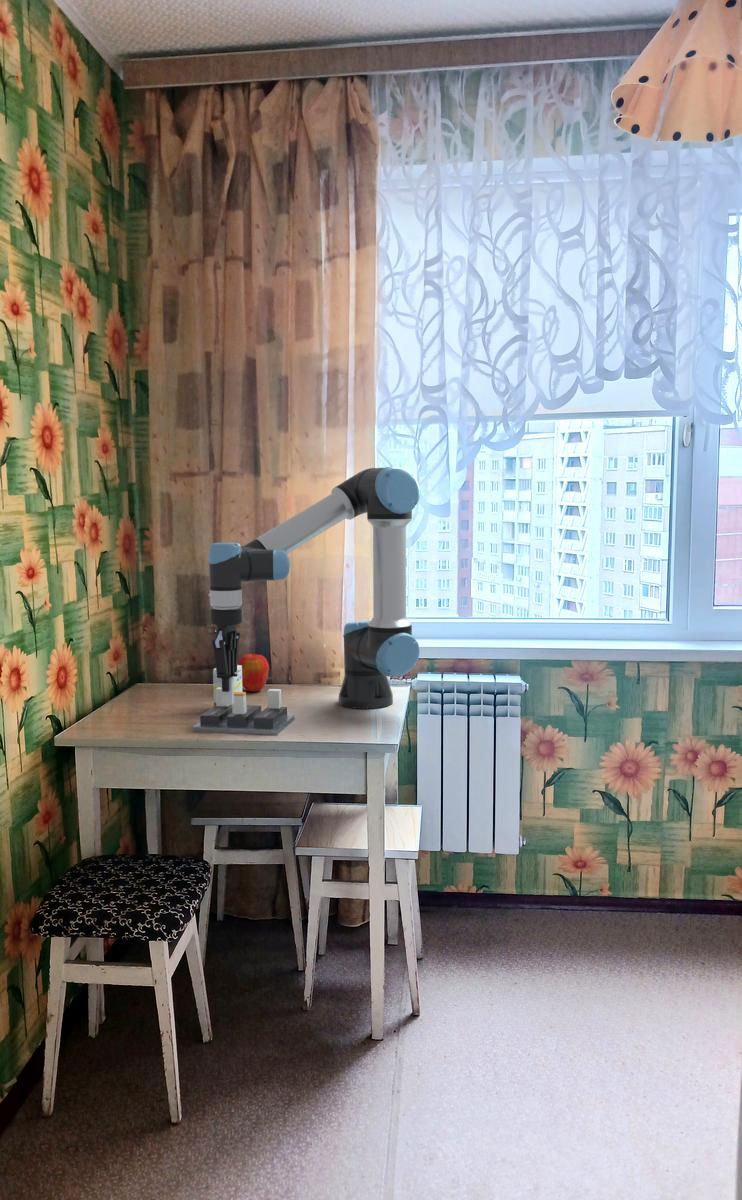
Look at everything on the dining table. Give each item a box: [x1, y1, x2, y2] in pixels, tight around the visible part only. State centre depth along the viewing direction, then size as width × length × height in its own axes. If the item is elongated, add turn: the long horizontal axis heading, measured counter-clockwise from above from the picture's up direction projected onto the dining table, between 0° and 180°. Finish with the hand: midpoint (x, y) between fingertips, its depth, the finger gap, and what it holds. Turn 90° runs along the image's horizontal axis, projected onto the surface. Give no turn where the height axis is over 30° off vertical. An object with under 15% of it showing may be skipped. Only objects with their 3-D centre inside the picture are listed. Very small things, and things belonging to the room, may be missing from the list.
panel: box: [191, 704, 296, 736], centre depth 232 cm, size 22×15×4 cm
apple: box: [237, 651, 270, 692], centre depth 270 cm, size 9×9×12 cm
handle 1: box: [216, 687, 229, 706], centre depth 237 cm, size 3×2×4 cm, turn 78°
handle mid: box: [232, 691, 247, 714], centre depth 228 cm, size 3×2×5 cm, turn 78°
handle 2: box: [267, 688, 283, 708], centre depth 234 cm, size 3×2×4 cm, turn 78°
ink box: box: [212, 664, 243, 707], centre depth 248 cm, size 9×5×12 cm, turn 161°
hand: (227, 703), depth 221 cm, fingers closed
